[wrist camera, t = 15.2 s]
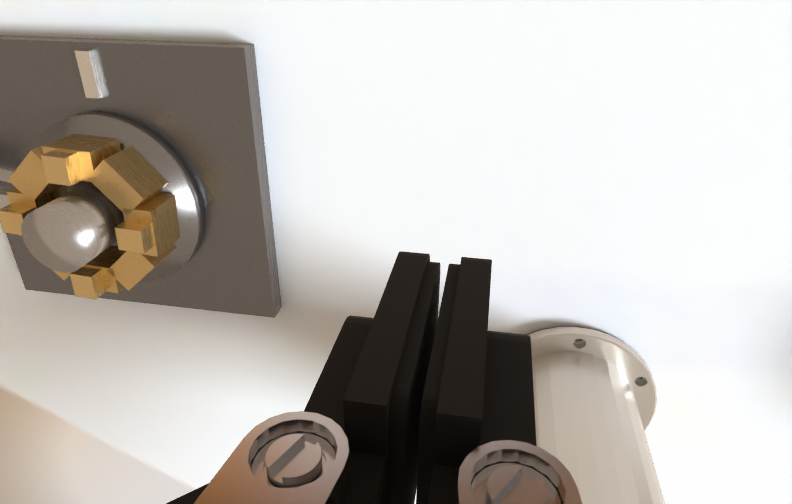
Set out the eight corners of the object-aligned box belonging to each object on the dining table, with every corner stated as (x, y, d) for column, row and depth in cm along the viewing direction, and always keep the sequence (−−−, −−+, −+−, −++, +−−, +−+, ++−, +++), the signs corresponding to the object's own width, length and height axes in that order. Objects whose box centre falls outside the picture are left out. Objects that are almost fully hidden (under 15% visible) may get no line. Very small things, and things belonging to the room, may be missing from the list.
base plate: (281, 307, 45) (236, 375, 38) (38, 280, 49) (-46, 338, 41) (253, 44, 36) (187, 67, 28) (-44, 34, 39) (-173, 52, 32)
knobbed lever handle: (170, 143, 37) (130, 165, 33) (188, 277, 42) (155, 310, 38) (-98, 110, 40) (-164, 127, 36) (-52, 240, 45) (-106, 267, 41)
